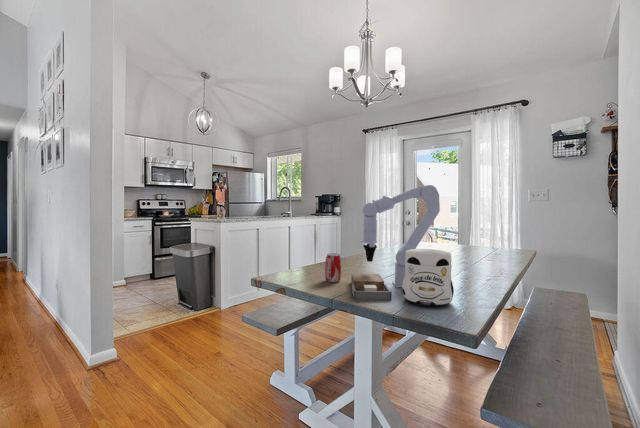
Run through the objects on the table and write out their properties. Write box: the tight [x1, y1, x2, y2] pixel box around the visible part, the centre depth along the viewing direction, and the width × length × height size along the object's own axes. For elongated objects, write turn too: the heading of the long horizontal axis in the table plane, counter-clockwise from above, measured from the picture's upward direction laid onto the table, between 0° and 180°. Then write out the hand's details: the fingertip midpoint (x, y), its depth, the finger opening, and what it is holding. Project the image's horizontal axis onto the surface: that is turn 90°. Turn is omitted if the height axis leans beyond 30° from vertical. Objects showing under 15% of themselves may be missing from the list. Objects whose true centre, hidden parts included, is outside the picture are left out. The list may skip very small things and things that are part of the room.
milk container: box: [401, 248, 454, 308], centre depth 115 cm, size 17×17×18 cm
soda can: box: [324, 252, 342, 283], centre depth 144 cm, size 7×7×12 cm
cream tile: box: [364, 285, 377, 291], centre depth 124 cm, size 4×4×2 cm
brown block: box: [350, 273, 385, 291], centre depth 135 cm, size 12×13×4 cm
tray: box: [351, 283, 393, 301], centre depth 123 cm, size 14×11×3 cm
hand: (369, 261), depth 142 cm, fingers closed
